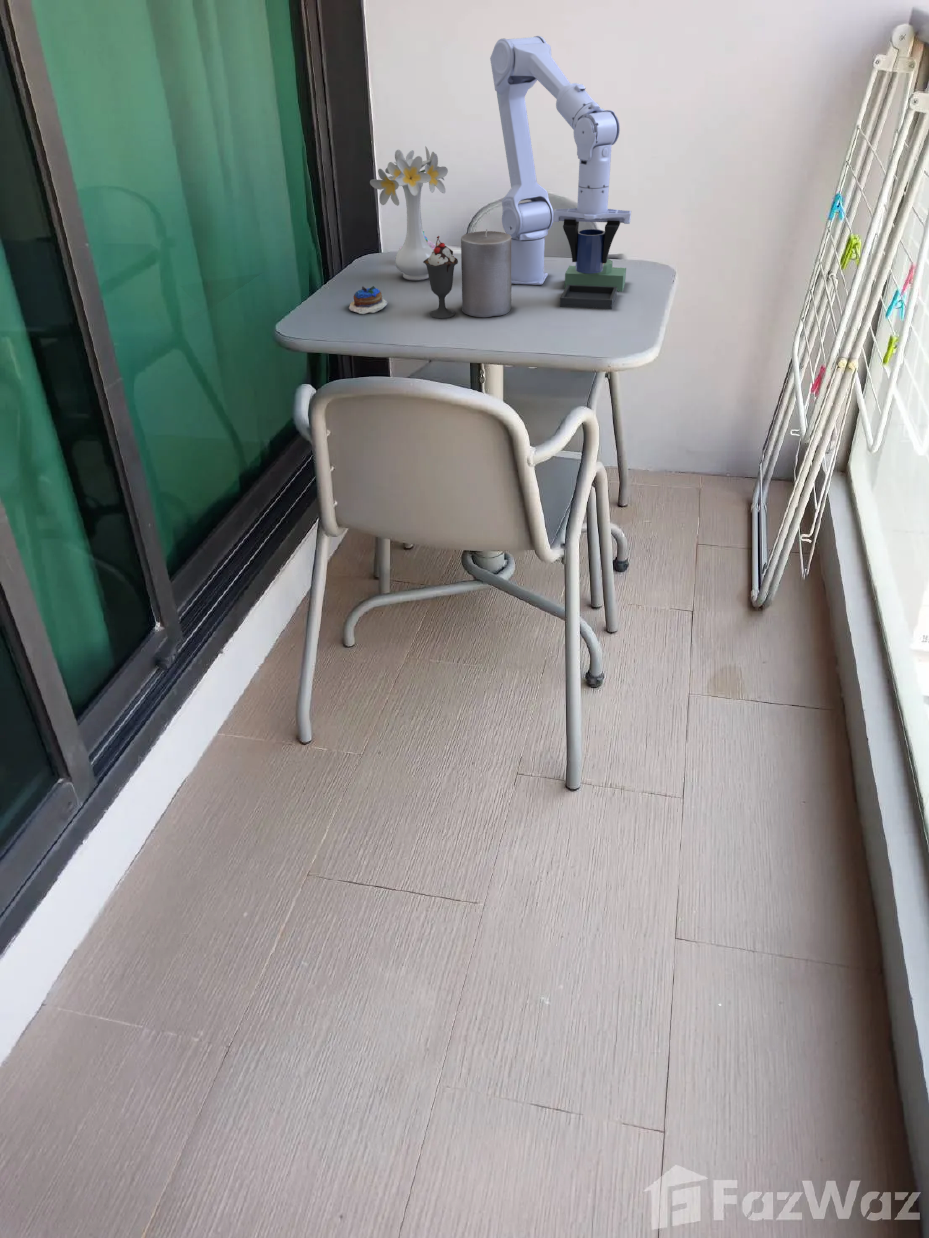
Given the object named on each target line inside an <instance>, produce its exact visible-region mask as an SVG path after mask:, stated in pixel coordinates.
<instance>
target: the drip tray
mask: <svg viewBox="0 0 929 1238" xmlns="http://www.w3.org/2000/svg"><path fill="white" fill-rule="evenodd" d="M617 293H618V291H617V287H610V286H587V285H567V286H566V288H565V287H564V290H563V292H562V294H561V295H560V298H559V300H560V301H559V308H575V309H595V310H613V307H614V304H615V301H616V299H617V295H618V294H617Z"/></svg>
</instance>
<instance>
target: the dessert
mask: <svg viewBox="0 0 929 1238" xmlns="http://www.w3.org/2000/svg"><path fill="white" fill-rule="evenodd" d="M352 298H353V301H351V302H350V304H349V307H348V310H349V311H351V312H355V313H358V314H360V315H365V314H368V313H372V314H375V313H377V312H378V311H380V310H383V309H384V308H385V307H386V306H387V305H388V301H387V300H386V299H384V298H383V295H382V291H381V290H380V289H379V288H376V287H375V286H374V285H372V286H371V287H367V288H366V287H364V286H362V287H361V289H359V290H357V291H355V293H354V294H353V297H352Z"/></svg>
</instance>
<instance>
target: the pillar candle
mask: <svg viewBox="0 0 929 1238" xmlns="http://www.w3.org/2000/svg"><path fill="white" fill-rule="evenodd" d="M460 257H461V258H460V259H461V261H460V262H461V269H460V270H461V310H462V312H463V314H465V315H468V316H471V317H477V318H491V317H499V316H504V315H507V314H509V313H510V312H511V309H512V284H511V236H510V235H509V234H507V233H506V232H502V231H493V230H488V229H485V230H483V231H473V232H468V233H465V234H463V235H462V236H461V237H460Z"/></svg>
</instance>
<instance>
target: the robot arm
mask: <svg viewBox="0 0 929 1238" xmlns="http://www.w3.org/2000/svg"><path fill="white" fill-rule="evenodd" d="M489 60H490V66H491V72H492V79H493V85H494V90H495V92H496V97H497V106H498V111H499V117H500V124H501V125H500V126H501V130H502V137H503V142H504V151H505V157H506V163H507V169H508V176H509V181H510V183H509V184H510V187H511V188H510V189H509V190H508V191H507V193H506V194H505V195H504V197H503V198H502V199H501V206H502V213H501V225H502V228H503V230H504V233H507V234H509V235H510V236H511V285H514V284H515V285H531V286H532V285H534V286H542V285H543V284H544V283H545V282H546V281H545V280H547V277H548V275H549V273H548V272H545V242H546V241H545V239H546V236H548V233H549V232H548V231H549V230H550V229H551V228H552V227H553V225H554V223H560V222H563V225H562V229H563V231H564V234H565V237H566V239H567V242H568V245H569V249H570V254H571V262H572V263H576V248H577V232H578V231H579V227H580V223H581V222H583V223H606V224H605V225H604V231H605V241H604V252H603V263H606V262H607V259H609V258H608V257H609V253H610V250H611V246H612V243H613V240H614V238H615V236H616V234H617V232H618V231H619V228H620V225H621V224H624V225H630V223H631V218H632V210H624V209H621V210H620V209H614V208H609V192H610V179H611V162H612V148H613V146H614V145H615V144H616V142H617V141H618V139H619V136H620V131H621V128H620V127H621V126H620V121H619V118H618V117H617V115H616V112H615V111H614V110H611V109H606V110H605V108H601V106H600V105H599V104H598V102H596V101H595V100H594V99H593V98H592V96H591V95H590V94H589V93H588V92H587V91H586V88H587V87H585V85H584V84H583V83H577V82H573V83H571V82H570V81H569V79H568V78H567V76H566V75H565V74H564V72H563V70H562V69H561V67H560V66H559V65H558V63H557V62H556V61H555V59H554V58H553V56H552V46H551V45H550V44H549V43H547V41H546V39H545V38H544V37H543V36H541V35H535V36H533V37H532V36H530V37H529V36H528V37H517V38H499V39H498V40H497V41H496V43H495V44H494V47H493V49H492V52H491V54H490V57H489ZM537 82H539V83H540V84H541V85H542V87H544V89H546V91H548V92H549V93H550V95H552V97H554V99H555V100H556V101H555V102H556V103H555V108H556V110H557V112H558V113H559V115H561V117H562V118H563V119H564V120H565V122H566V123H567V124H568V125H569V126H570V128H571V129H572V130H573V139H574V142H575V145H576V156H577V159H578V161H579V162H578V163H579V164H578V183H577V184H578V187H577V203H576V204H577V205H576V206H577V207H571V208H554V209H553V205H552V204H551V201H550V197H549V192H548V190H546V189H545V188H544V187H543V186H541V185H540V184H539V183H538V181H537V174H536V166H535V160H534V159H535V158H534V152H533V145H532V139H531V132H530V126H529V119H528V110H527V103H526V96H527V93H528V92H529V90H530V89H531V88H533V87H534V85H535V84H536V83H537ZM523 201H526V202H523Z"/></svg>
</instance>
